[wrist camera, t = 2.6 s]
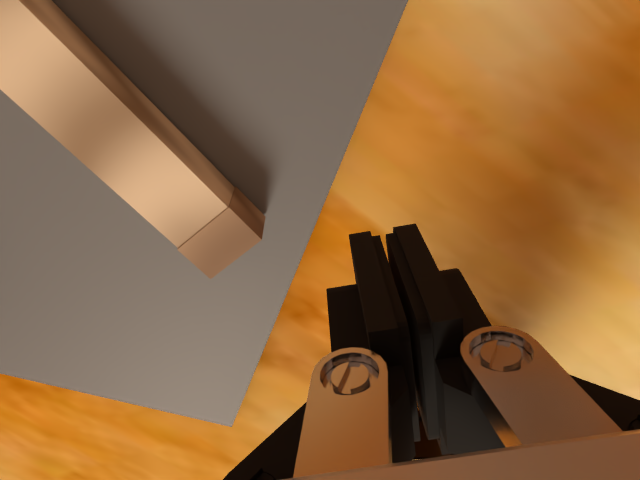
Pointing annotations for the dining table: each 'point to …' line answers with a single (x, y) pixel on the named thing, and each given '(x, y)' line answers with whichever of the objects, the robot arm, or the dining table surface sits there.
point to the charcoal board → (142, 237)
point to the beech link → (122, 135)
